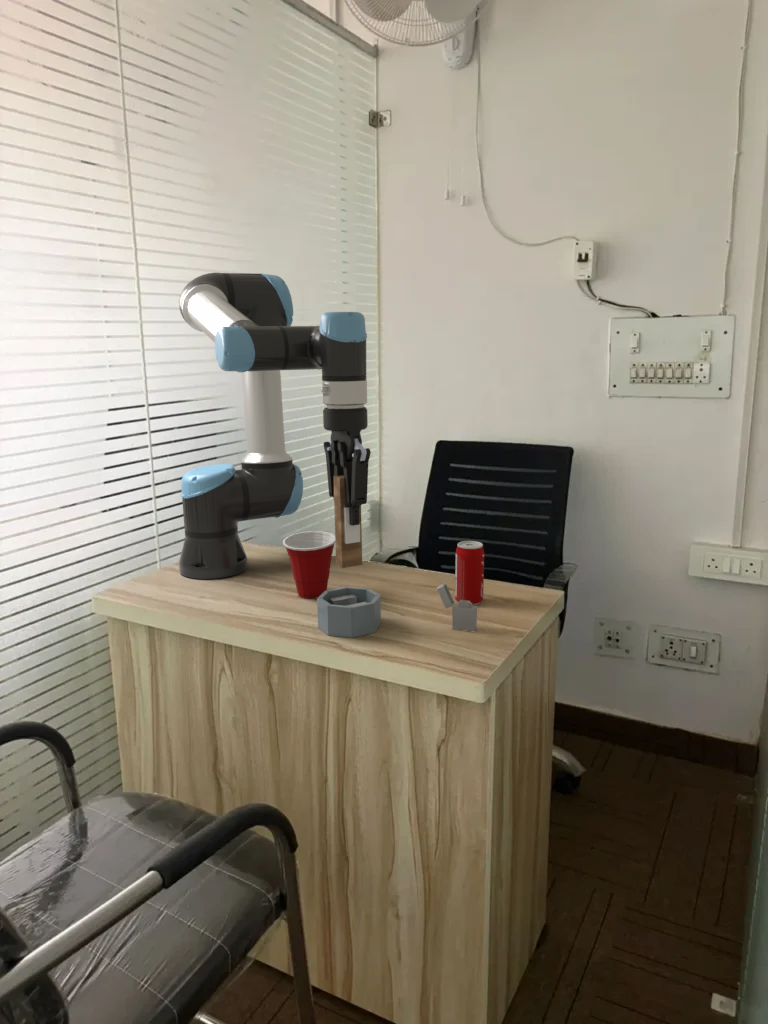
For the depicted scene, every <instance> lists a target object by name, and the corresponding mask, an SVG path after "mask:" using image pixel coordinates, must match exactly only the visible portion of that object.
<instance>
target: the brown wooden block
mask: <svg viewBox="0 0 768 1024" xmlns="http://www.w3.org/2000/svg"><path fill="white" fill-rule="evenodd" d="M333 477H334V497H333V502H334V503H333V504H334V505H333V508H334V535H335V543H334V546H335V565H336V566H338V567H339V568H341V569H345V568H350V567H356V566H361V565H363V534H362V533H363V532H362V530H363V529H362V505H361V506H360V542H355V543H349V544H346V543H345V535H344V507H343V505H342V504H346V495H345V482H344V475H339V476H333Z"/></svg>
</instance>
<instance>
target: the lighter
mask: <svg viewBox="0 0 768 1024" xmlns="http://www.w3.org/2000/svg"><path fill="white" fill-rule="evenodd" d="M436 590H437V592H438V595H439V597H440V598H441V602H442V603H443V605H444V608H445V609H449V608H451V607H452V613H451V614H452V615H451V618H452V621H451V625H452V626H451V630H454V629H458V630H457V631H461V630H467V631H466V632H468V631H475V630H476V631H477V629H478V627H477V626H478V625H477V624H478V606H477V605H473V606H472V603H471V602H470V601H467V600H460V601H459V603H455V600H454V598H453V596H452V593H451V591H450V589H449V587H448V585H447V583H446V582H445V583H442V584H439V585H438V586H437V587H436ZM476 631H475V632H476Z"/></svg>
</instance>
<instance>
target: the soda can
mask: <svg viewBox="0 0 768 1024" xmlns="http://www.w3.org/2000/svg"><path fill="white" fill-rule="evenodd" d="M454 571H455V574H454V575H455V576H454V577H455V578H454V580H455V583H454V584H455V585H454V586H455V587H454V599H455V601H456V602H457V604H459V601H460V600H467V601H470V602H471V603H472V606H477V605H480V604H481V603H482V602H483V601H484V588H485V587H484V586H485V585H484V583H485V581H484V580H485V579H484V578H485V576H484V575H485V550H484V544H483V543H482V542H480V541H476V540H475V541H474V540H463V541H460V542H457V546H456V549H455V569H454Z"/></svg>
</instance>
